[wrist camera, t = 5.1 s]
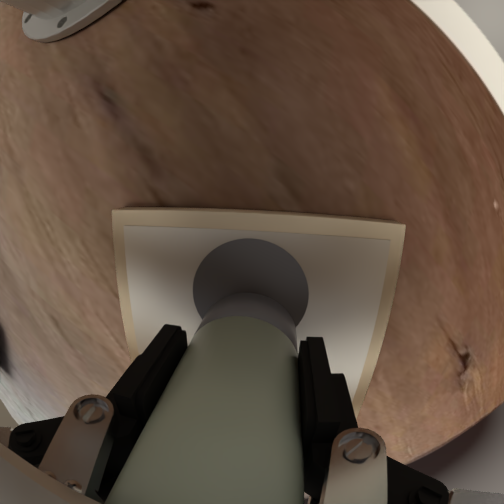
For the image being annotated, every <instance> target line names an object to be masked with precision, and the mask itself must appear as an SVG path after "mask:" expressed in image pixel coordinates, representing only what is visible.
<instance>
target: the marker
mask: <svg viewBox="0 0 504 504" xmlns="http://www.w3.org/2000/svg"><path fill="white" fill-rule="evenodd" d="M104 504H304V462H303V445H302V427H301V405H300V387H299V370H298V348H297V335H296V328H295V324H294V322H293V319H292V317H291V316H290V314H289V313H288V312H287V310H286V309H285V308H284V307H283V306H281V305H280V304H279V303H278V302H276V301H275V300H273V299H271V298H269V297H266V296H263V295H260V294H255V293H236V294H232V295H229V296H226V297H224V298H222V299H220V300H218V301H217V302H216V303H214V304H213V305H212V306H211V307H210V308H209V310H208V311H207V312H206V314H205V316H204V318H203V320H202V322H201V323H200V325H199V327H198V329H197V331H196V332H195V334H194V336H193V338H192V340H191V342H190V343H189V345H188V347H187V349H186V351H185V353H184V354H183V356H182V358H181V360H180V362H179V364H178V365H177V367H176V369H175V371H174V373H173V375H172V377H171V378H170V380H169V382H168V384H167V386H166V388H165V390H164V391H163V393H162V395H161V397H160V399H159V401H158V403H157V404H156V406H155V408H154V410H153V412H152V414H151V416H150V417H149V419H148V421H147V423H146V425H145V427H144V429H143V431H142V433H141V434H140V436H139V438H138V440H137V442H136V444H135V446H134V448H133V450H132V451H131V453H130V455H129V457H128V459H127V461H126V463H125V465H124V467H123V469H122V470H121V472H120V474H119V476H118V478H117V480H116V482H115V484H114V486H113V488H112V490H111V492H110V494H109V496H108V497H107V499H106V501H105V503H104Z"/></svg>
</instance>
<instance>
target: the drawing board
mask: <svg viewBox="0 0 504 504" xmlns="http://www.w3.org/2000/svg"><path fill="white" fill-rule="evenodd" d="M112 228H113V243H114V256H115V266H116V276H117V284H118V292H119V299H120V306H121V312H122V318H123V324H124V330H125V335H126V340H127V345H128V350H129V355H130V359H131V364H132V362H133V361H134V360H135V358H136V357H137V356H138V355H140V354H142V353H143V352H144V350H145V349H146V348H147V346H148V345H149V344H150V343H151V341H152V340H153V339H154V337H155V336H156V335H157V333H158V332H159V331H160V330H161V328H162V327H163V326H164V325H165V324H170V325H177V326H181V328H182V330H185V331H186V334H187V344H188V345H189V343H190V342H191V340H192V338H193V336H194V334H195V332H196V331H197V329H198V327H199V325H200V323H201V322H202V320H203V318H204V316H205V314H206V312H207V311H208V310H209V308H210V307H211V306H212V305H213V304H214V303H216V302H217V301H218V300H220V299H222V298H224V297H226V296H229V295H232V294H236V293H255V294H260V295H263V296H266V297H269V298H271V299H273V300H275V301H276V302H278V303H279V304H280V305H281V306H283V307H284V308H285V309H286V310H287V312H288V313H289V314H290V316H291V317H292V319H293V322H294V324H295V328H296V335H297V348H298V353H299V346H300V341H301V340H304V341H306V337H323V340H324V344H325V348H326V353H327V357H328V361H329V366H330V371H331V373H343V374H344V376H345V379H346V382H347V386H348V390H349V394H350V397H351V401H352V405H353V409H354V413H355V417H356V418H357V416H358V413H359V411H360V408H361V406H362V403H363V400H364V398H365V395H366V392H367V389H368V387H369V384H370V381H371V378H372V375H373V372H374V369H375V366H376V363H377V359H378V356H379V353H380V349H381V346H382V343H383V339H384V335H385V332H386V328H387V324H388V320H389V316H390V312H391V307H392V303H393V299H394V294H395V289H396V284H397V279H398V274H399V268H400V263H401V257H402V250H403V243H404V236H405V228H406V225H405V224H402V223H400V222H397V221H393V220H384V219H373V218H363V217H352V216H340V215H327V214H314V213H299V212H283V211H265V210H244V209H218V208H180V207H123V208H118V209H114V210H112Z"/></svg>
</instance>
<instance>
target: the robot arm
mask: <svg viewBox="0 0 504 504" xmlns="http://www.w3.org/2000/svg"><path fill="white" fill-rule="evenodd" d="M121 1H122V0H0V2H3V3H5V4H8V5H10V6H13V7H15V8H17V9H20V10H22V11H24V13H23V18H22V29H23V31H24V34H25V35H26V36H27V37H28V38H30V39H33V40H35V41H38V42H51V41H56V40H59V39H62V38H64V37H66V36H69V35H71V34H73V33H75V32H76V31H78V30H80V29H82V28H84V27H86V26H87V25H89V24H90V23H92V22H93V21H95V20H96V19H98V18H99V17H101V16H102V15H104V14H105V13H106V12H108V11H109V10H110V9H112V8H113V7H115V6H116V5H117V4H119V3H120V2H121ZM187 347H188V344H187V334H186V331H185V330H182V328H181V326H177V325H170V324H165V325H164V326H163V327H162V328H161V330H160V331H159V332H158V333H157V335H156V336H155V337H154V339H153V340H152V341H151V343H150V344H149V345H148V346H147V348H146V349H145V350H144V352H143V353H142V354H140V355H138V356H137V357H136V358H135V360H134V361H133V362H132V364H131V365H130V366H129V368H128V369H127V370H126V371H125V373H124V374H123V375H122V377H121V378H120V379H119V381H118V382H117V383H116V385H115V386H114V387H113V389H112V390H111V391H110V393H109V394H108V395H107V397H106V398H105V397H103V396H100V395H93V394H91V395H85V396H82V397H80V398H78V399H76V400H75V401H74V402H73V403H72V404H71V406H70V407H69V409H68V411H67V413H66V415H65V416H63V417H58V418H53V419H48V420H42V421H37V422H31V423H25V424H21V425H19V426H17V427H16V428H15V429H14V430H13V429H12V428H11V427H0V504H104V503H105V501H106V499H107V497H108V496H109V494H110V492H111V490H112V488H113V486H114V484H115V482H116V480H117V478H118V476H119V474H120V472H121V470H122V469H123V467H124V465H125V463H126V461H127V459H128V457H129V455H130V453H131V451H132V450H133V448H134V446H135V444H136V442H137V440H138V438H139V436H140V434H141V433H142V431H143V429H144V427H145V425H146V423H147V421H148V419H149V417H150V416H151V414H152V412H153V410H154V408H155V406H156V404H157V403H158V401H159V399H160V397H161V395H162V393H163V391H164V390H165V388H166V386H167V384H168V382H169V380H170V378H171V377H172V375H173V373H174V371H175V369H176V367H177V365H178V364H179V362H180V360H181V358H182V356H183V354H184V353H185V351H186V349H187ZM298 370H299V387H300V405H301V427H302V445H303V462H304V492H305V493H307V494H308V495H310V496H309V501H308V504H504V495H503V494H500V493H490V492H480V491H471V490H464V489H457V488H454V489H453V490H452V491H449V490H448V489H447V487H446V486H445V485H444V484H443V483H442V482H440V481H438V480H436V479H434V478H432V477H429V476H427V475H425V474H423V473H421V472H418V471H416V470H414V469H412V468H410V467H408V466H406V465H404V464H402V463H400V462H398V461H396V460H394V459H392V458H390V457H388V456H386V446H385V442H384V440H383V439H382V438H381V436H379V435H378V434H377V433H375V432H374V431H371V430H369V429H364V428H358V425H357V421H356V417H355V413H354V409H353V405H352V401H351V397H350V394H349V390H348V386H347V382H346V379H345V376H344V374H343V373H331V371H330V366H329V361H328V357H327V353H326V348H325V344H324V340H323V337H306V341H304V340H301V341H300V346H299V353H298Z"/></svg>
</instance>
